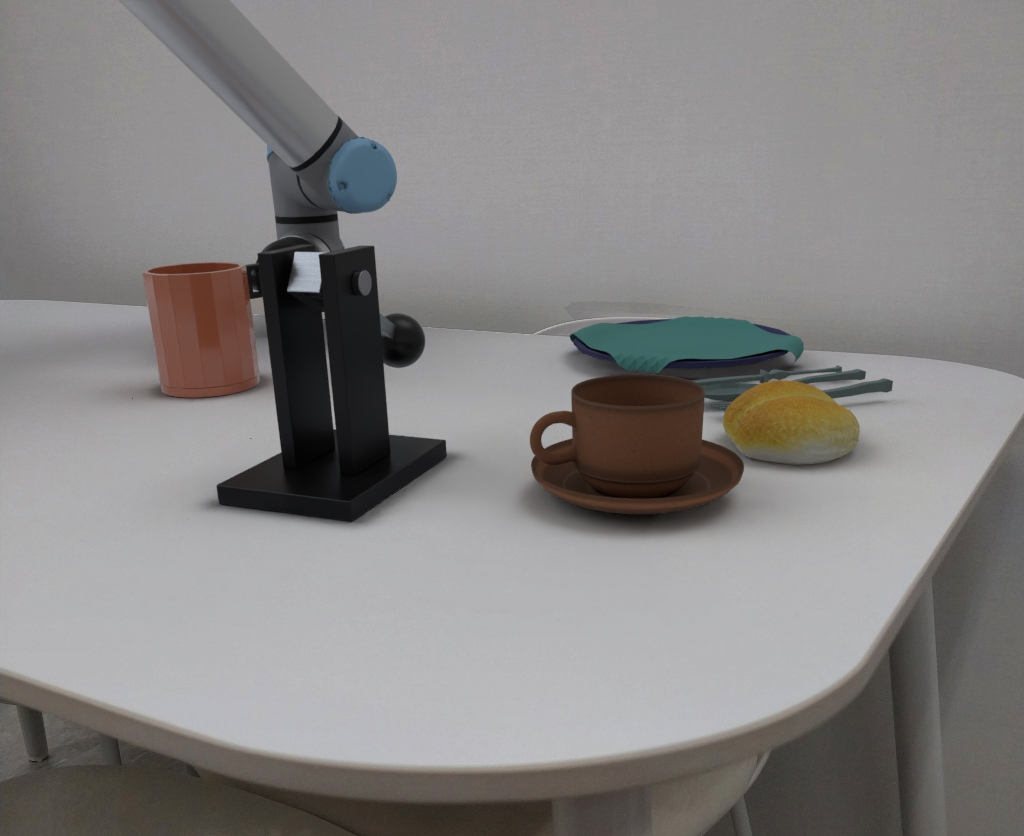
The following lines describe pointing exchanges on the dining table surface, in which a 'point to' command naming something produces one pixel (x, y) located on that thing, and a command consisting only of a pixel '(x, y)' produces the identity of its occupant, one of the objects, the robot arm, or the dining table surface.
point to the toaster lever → (397, 330)
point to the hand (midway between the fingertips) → (250, 299)
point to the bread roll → (790, 424)
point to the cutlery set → (710, 353)
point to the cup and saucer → (634, 448)
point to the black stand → (328, 397)
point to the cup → (202, 328)
